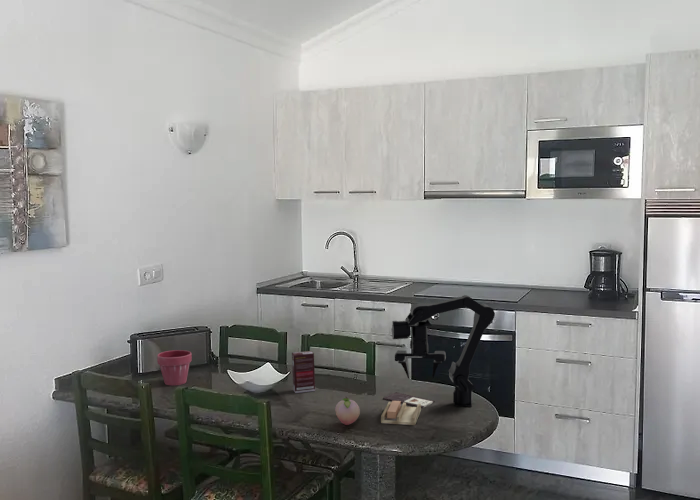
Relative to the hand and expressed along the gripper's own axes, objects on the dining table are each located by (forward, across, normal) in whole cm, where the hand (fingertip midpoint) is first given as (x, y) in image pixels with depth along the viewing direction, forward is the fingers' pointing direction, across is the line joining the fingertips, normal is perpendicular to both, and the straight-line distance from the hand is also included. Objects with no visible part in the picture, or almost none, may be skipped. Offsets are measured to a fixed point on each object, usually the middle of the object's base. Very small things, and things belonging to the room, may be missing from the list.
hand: (420, 378), depth 254 cm
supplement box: (+10, +49, -11) cm, 52 cm away
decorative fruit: (+10, +23, +24) cm, 35 cm away
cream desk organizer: (+10, +6, +13) cm, 18 cm away
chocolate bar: (+11, +6, -5) cm, 14 cm away
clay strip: (+9, +9, +13) cm, 18 cm away
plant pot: (+8, +107, -14) cm, 109 cm away
